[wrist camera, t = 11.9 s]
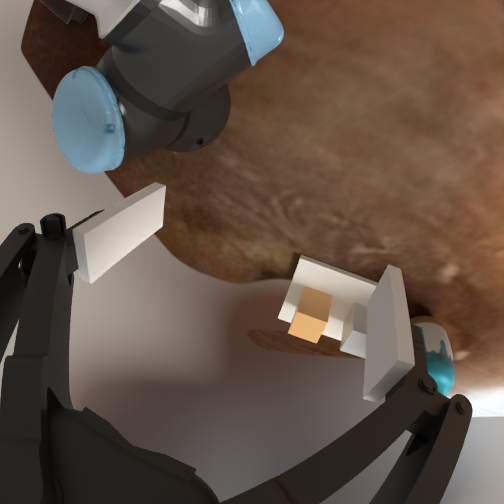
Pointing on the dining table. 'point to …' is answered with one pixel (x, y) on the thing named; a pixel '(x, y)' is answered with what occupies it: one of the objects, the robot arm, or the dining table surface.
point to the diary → (66, 10)
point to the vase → (437, 352)
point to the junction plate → (334, 301)
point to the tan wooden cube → (311, 314)
